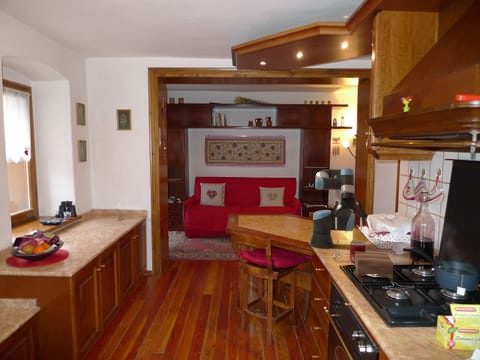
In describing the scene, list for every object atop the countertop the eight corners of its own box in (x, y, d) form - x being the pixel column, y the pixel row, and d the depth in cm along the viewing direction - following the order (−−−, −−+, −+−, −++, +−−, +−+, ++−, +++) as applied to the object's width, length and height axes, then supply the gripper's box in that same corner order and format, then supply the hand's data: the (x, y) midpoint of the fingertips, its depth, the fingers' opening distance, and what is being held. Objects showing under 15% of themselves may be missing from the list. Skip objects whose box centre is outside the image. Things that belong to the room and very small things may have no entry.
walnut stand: (354, 265, 174) (355, 251, 173) (386, 268, 169) (387, 253, 169) (357, 276, 158) (358, 260, 158) (392, 279, 154) (393, 263, 153)
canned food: (367, 264, 176) (367, 244, 175) (352, 264, 176) (353, 244, 175) (361, 259, 184) (362, 240, 183) (348, 259, 184) (348, 240, 183)
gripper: (325, 191, 188) (325, 227, 181) (371, 191, 181) (373, 228, 174) (325, 195, 195) (326, 229, 188) (369, 195, 188) (371, 231, 181)
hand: (348, 229), depth 181 cm, fingers open, 13 cm apart
